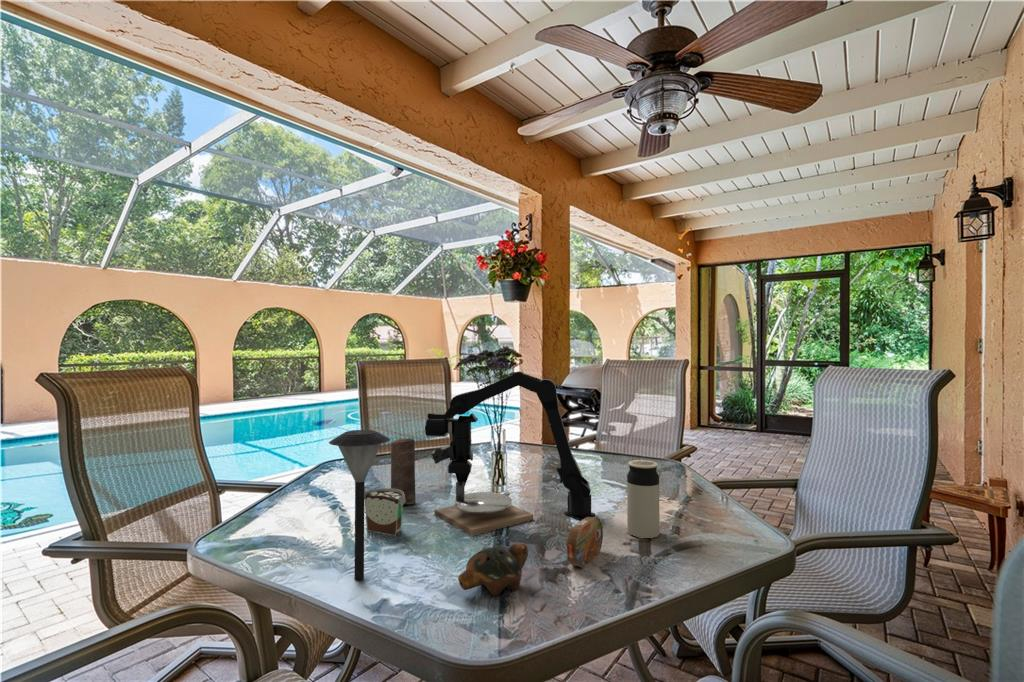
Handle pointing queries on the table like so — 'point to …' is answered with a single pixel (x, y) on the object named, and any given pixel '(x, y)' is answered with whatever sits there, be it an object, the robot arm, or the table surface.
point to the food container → (384, 510)
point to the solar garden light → (359, 478)
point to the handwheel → (480, 501)
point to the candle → (403, 467)
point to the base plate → (482, 519)
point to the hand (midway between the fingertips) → (461, 490)
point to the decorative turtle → (495, 568)
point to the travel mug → (643, 499)
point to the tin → (584, 541)
